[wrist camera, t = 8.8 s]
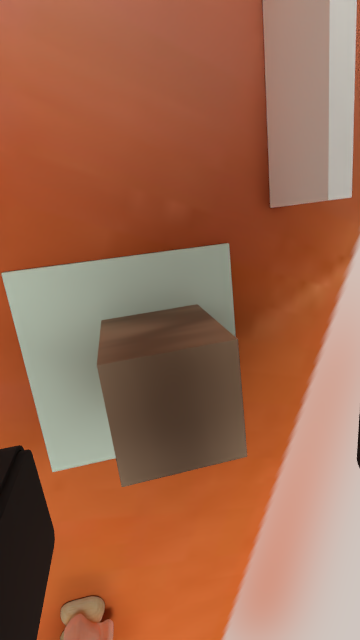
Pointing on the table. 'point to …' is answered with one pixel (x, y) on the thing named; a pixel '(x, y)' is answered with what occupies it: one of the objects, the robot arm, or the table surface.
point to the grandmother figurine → (86, 620)
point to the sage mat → (84, 331)
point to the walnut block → (171, 392)
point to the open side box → (309, 98)
